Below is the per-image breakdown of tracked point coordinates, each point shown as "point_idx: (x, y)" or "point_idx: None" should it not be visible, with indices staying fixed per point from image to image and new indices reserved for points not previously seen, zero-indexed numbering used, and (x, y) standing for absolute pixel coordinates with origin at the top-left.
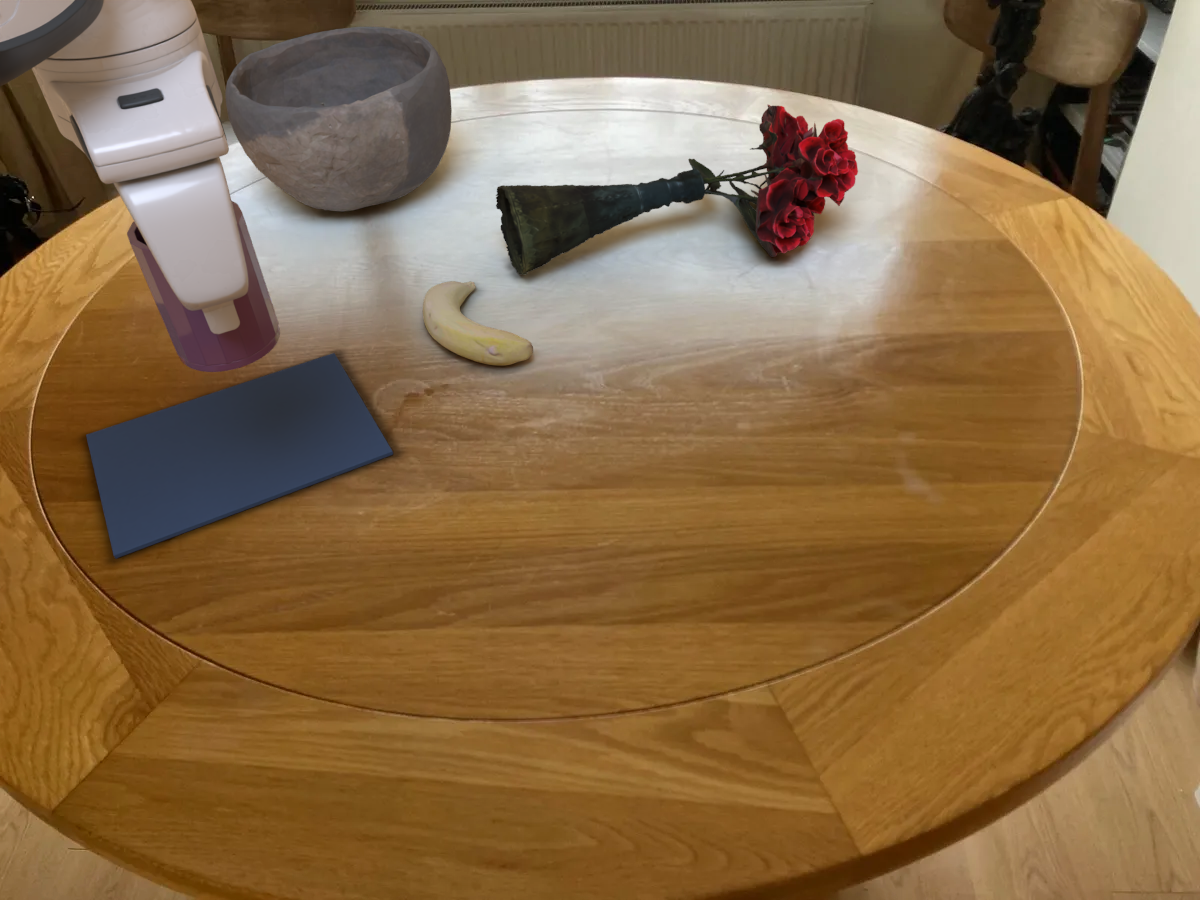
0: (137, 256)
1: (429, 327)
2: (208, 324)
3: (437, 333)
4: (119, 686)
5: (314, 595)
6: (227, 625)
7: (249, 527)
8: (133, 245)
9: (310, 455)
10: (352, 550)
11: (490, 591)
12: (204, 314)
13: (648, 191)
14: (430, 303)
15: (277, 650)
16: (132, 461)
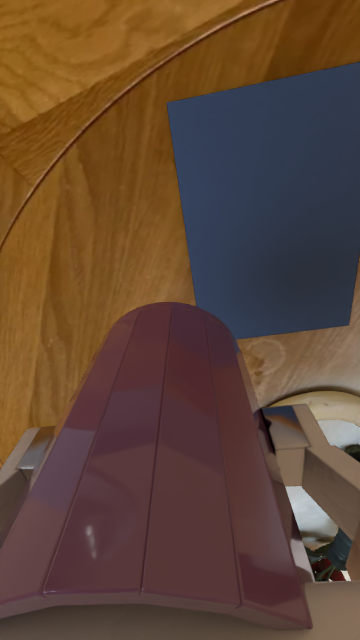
0: (50, 523)
1: (317, 397)
2: (19, 442)
3: (305, 400)
4: (14, 112)
5: (80, 273)
6: (64, 209)
7: (164, 234)
8: (25, 588)
9: (224, 291)
10: (116, 302)
11: (62, 366)
12: (5, 463)
13: (346, 546)
14: (339, 409)
15: (35, 243)
16: (303, 122)
